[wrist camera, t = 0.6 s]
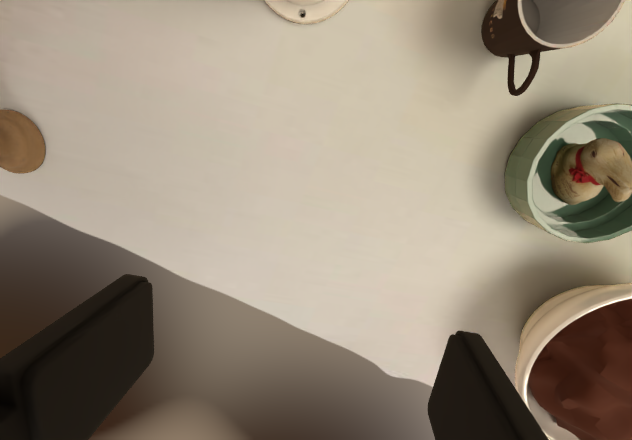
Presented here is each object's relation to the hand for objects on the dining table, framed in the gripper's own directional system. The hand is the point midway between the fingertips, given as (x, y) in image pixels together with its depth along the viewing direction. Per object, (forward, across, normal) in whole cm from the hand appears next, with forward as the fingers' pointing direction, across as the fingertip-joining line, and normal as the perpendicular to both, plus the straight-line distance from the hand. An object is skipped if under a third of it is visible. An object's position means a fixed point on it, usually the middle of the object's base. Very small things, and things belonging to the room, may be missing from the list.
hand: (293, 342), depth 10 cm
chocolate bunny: (+34, -29, -5) cm, 45 cm away
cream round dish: (+34, -39, +18) cm, 55 cm away
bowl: (+34, -29, -5) cm, 45 cm away
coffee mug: (+34, -17, -19) cm, 42 cm away
